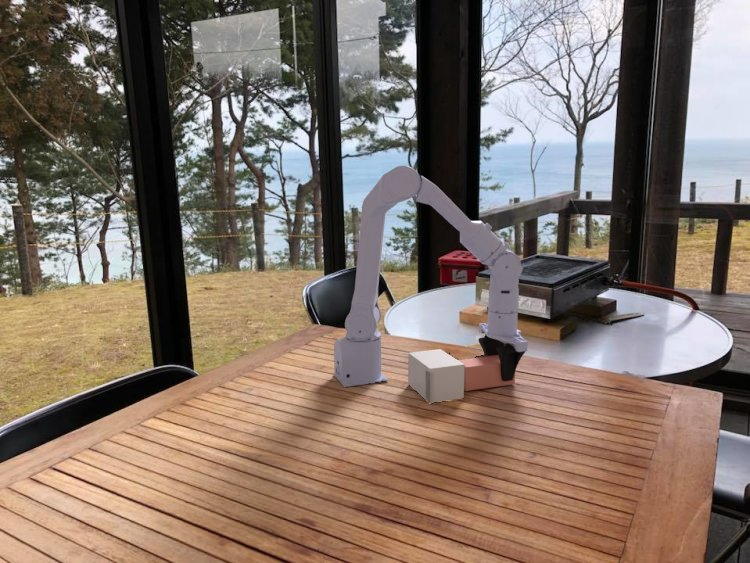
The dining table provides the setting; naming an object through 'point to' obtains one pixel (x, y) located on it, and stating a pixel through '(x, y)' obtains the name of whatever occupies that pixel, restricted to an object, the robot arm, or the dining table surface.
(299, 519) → the dining table surface
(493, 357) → the pink cuboid
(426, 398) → the off-white grooved box
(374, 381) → the robot arm
